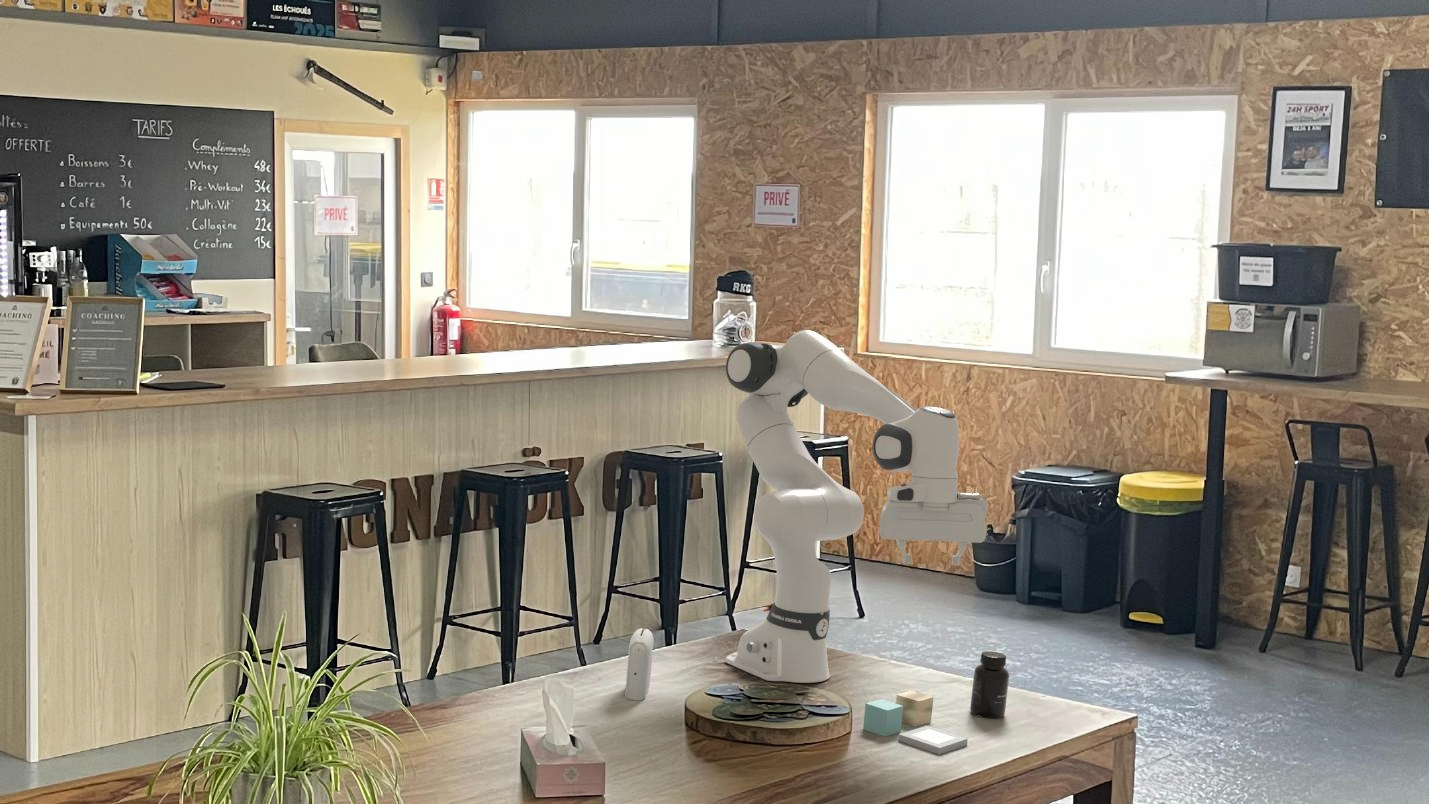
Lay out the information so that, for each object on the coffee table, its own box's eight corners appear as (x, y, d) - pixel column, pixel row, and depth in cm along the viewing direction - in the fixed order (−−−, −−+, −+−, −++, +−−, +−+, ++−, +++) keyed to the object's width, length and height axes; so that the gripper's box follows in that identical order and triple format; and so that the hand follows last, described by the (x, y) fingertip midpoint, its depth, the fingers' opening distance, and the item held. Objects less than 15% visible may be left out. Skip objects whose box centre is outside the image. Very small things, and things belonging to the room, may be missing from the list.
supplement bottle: (1004, 721, 307) (1010, 661, 306) (969, 716, 308) (975, 656, 307) (1005, 711, 314) (1011, 652, 313) (970, 706, 315) (976, 647, 314)
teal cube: (863, 729, 295) (865, 703, 294) (878, 724, 298) (881, 698, 298) (884, 736, 291) (887, 710, 291) (900, 731, 295) (903, 705, 295)
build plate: (898, 740, 289) (898, 734, 289) (926, 731, 296) (926, 725, 296) (939, 754, 284) (940, 747, 283) (966, 745, 290) (967, 738, 290)
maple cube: (894, 720, 302) (896, 694, 302) (909, 715, 306) (911, 690, 305) (915, 727, 299) (918, 701, 298) (930, 722, 303) (933, 697, 302)
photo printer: (645, 701, 300) (650, 638, 299) (623, 699, 300) (628, 636, 299) (651, 686, 310) (656, 625, 309) (629, 684, 310) (634, 622, 309)
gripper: (985, 492, 306) (982, 564, 306) (879, 489, 305) (876, 560, 306) (991, 495, 299) (988, 568, 300) (883, 491, 299) (880, 564, 299)
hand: (931, 564), depth 303 cm, fingers open, 8 cm apart
